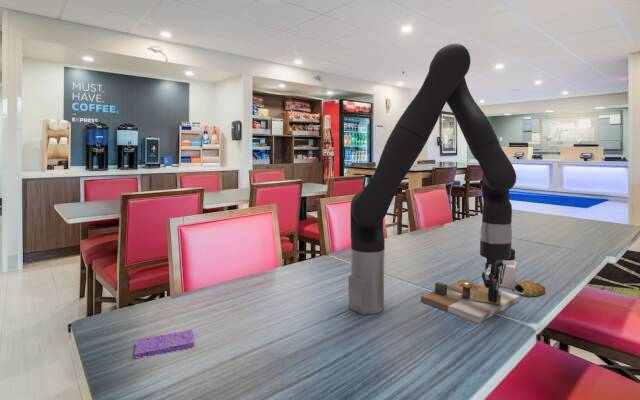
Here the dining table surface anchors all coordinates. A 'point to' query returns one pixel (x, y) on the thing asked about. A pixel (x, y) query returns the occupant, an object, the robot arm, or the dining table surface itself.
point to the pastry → (528, 288)
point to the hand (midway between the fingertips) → (492, 301)
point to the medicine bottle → (510, 271)
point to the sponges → (164, 343)
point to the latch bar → (479, 291)
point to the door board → (466, 301)
